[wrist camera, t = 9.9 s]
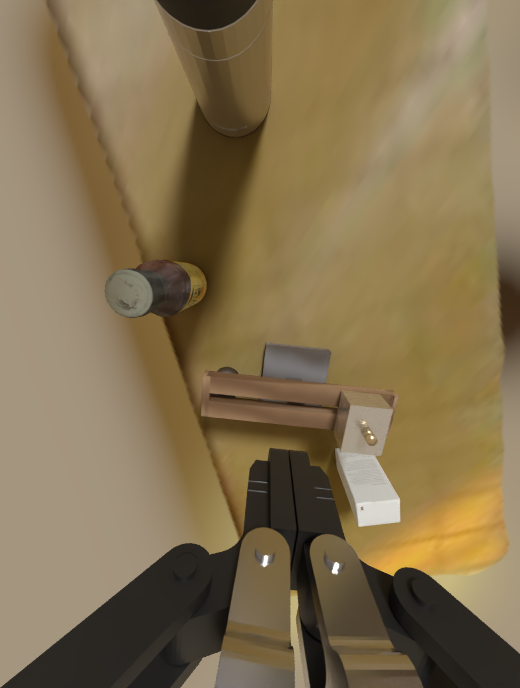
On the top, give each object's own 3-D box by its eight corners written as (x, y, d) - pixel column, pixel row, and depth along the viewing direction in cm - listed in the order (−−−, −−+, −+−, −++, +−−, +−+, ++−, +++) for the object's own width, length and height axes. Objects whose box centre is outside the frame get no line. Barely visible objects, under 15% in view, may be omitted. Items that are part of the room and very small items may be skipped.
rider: (338, 384, 38) (355, 413, 30) (374, 388, 38) (401, 418, 30) (330, 425, 40) (344, 463, 32) (365, 429, 40) (387, 467, 32)
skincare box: (336, 467, 50) (356, 528, 39) (334, 447, 49) (354, 503, 37) (370, 463, 50) (401, 523, 38) (369, 443, 49) (400, 498, 37)
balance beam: (216, 337, 44) (203, 354, 36) (378, 354, 44) (404, 375, 36) (211, 405, 47) (199, 435, 39) (363, 421, 47) (383, 454, 39)
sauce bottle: (183, 311, 43) (115, 348, 24) (159, 275, 42) (68, 284, 23) (218, 290, 42) (177, 311, 23) (196, 252, 41) (132, 241, 22)
